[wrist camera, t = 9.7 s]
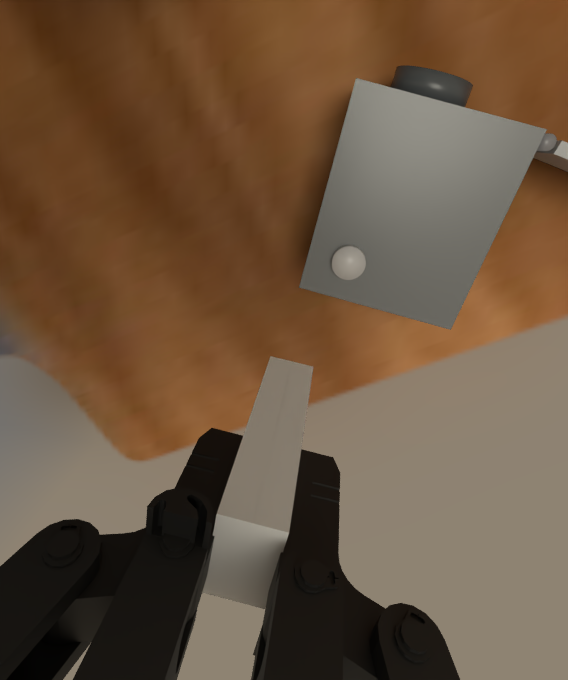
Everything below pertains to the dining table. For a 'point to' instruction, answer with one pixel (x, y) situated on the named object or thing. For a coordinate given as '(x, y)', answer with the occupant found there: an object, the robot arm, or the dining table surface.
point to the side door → (555, 156)
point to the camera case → (416, 196)
